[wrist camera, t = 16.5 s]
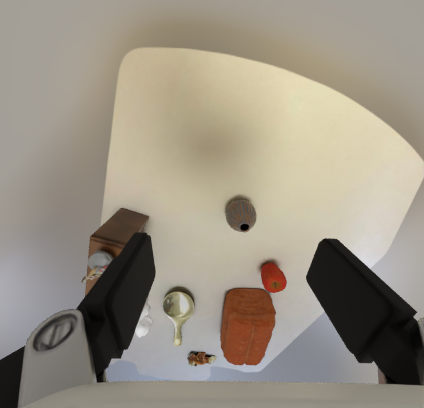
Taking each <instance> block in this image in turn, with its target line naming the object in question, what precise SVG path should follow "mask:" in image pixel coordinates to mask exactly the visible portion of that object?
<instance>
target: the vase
mask: <svg viewBox="0 0 424 408" xmlns="http://www.w3.org/2000/svg"><path fill="white" fill-rule="evenodd" d="M226 220H227V222H228V224H229V225H230V227H231V228H233V229H234V230H236V231H240V232H247V231H249V230H250V229H251V228H252V227H253V226H254V224H255V222H256V211H255V209H254V207H253V205H252V204H251V203H249V202H248V201H246V200H242V199H238V200H235V201H233V202H231V203H230V204H229V206H228V207H227V210H226Z"/></svg>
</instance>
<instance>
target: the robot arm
mask: <svg viewBox="0 0 424 408" xmlns="http://www.w3.org/2000/svg"><path fill="white" fill-rule="evenodd" d="M154 278H155V264H154V257H153V250H152V243H151V237H150V235H147V233H145V232H135V233H134V234H133V235H132V237H131V238H130V240H129V241H128V242H127V244H126V245H125V247H124V248H123V249H122V251H121V252H120V254H119V255H118V256H117V257H115V258H114V259H113V260H112V261H111V262H110V264H109V265H108V266H107V268H106V269H105V271H104V272H103V273H102V275H101V276H100V277H99V279H98V280H97V281H96V283H95V284H94V286H93V287H92V288H91V290H90V291H89V292H88V294H87V295H86V296H85V298H84V299H83V300H82V302H81V303H80V305H79V306H78V307H77V309H68V310H63V311H60V312H58V313H56V314H54V315H52V316H50V317H49V318H47V319H46V320H44V321H43V322H42V323H41V324H39V325H38V327H37V328H36V329H35V330H34V331H33V332H32V333H31V335H30V336H29V338H28V339H27V342H26V345H25V346H24V347H22V348H20V349H18V350H17V351H15V352H13V353H11V354H10V355H8V356H6V357H5V358H3V359H1V360H0V408H424V318H421V319H419V320H418V321H417V320H416V319H414V318H413V316H414V315H415V314H416V313H417V312H416V311H415V310H414V309H413V308H412V307H411V306H410V305H409V304H408V303H407V302H405V301H404V300H403V299H402V298H401V297H400V296H399V295H398V294H397V293H396V292H394V291H393V290H392V289H391V288H390V287H389V286H388V285H387V284H386V283H385V282H384V281H382V280H381V279H380V278H379V277H378V276H377V275H376V274H375V273H374V272H372V271H371V270H370V269H369V268H368V267H367V266H366V265H365V264H364V263H363V262H362V261H361V260H359V259H358V258H357V257H356V256H355V255H354V254H353V253H352V252H351V251H350V250H348V249H347V248H346V247H345V246H344V245H343V244H342V243H341V242H340V241H339V240H337V239H326V238H325V239H323V240H322V241H320V243H319V245H318V247H317V250H316V252H315V255H314V258H313V260H312V263H311V265H310V268H309V270H308V273H307V276H306V280H307V282H308V284H309V286H310V288H311V289H312V291H313V292H314V294H315V296H316V297H317V299H318V301H319V302H320V304H321V306H322V307H323V309H324V311H325V312H326V314H327V316H328V317H329V319H330V320H331V322H332V324H333V325H334V327H335V329H336V330H337V332H338V334H339V335H340V337H341V338H342V340H343V342H344V343H345V345H346V347H347V348H348V350H349V351H350V352H351V353H352V354H354V356H355V357H356V359H357V361H358V362H359V363H372V362H373V361H374V362H375V363H376V365H377V366H378V378H379V379H378V380H379V384H356V383H308V382H246V381H118V382H108V378H107V373H106V368H107V367H108V366H109V363H110V361H111V359H112V358H120V359H121V356H122V354H123V351H124V350H126V349H128V347H129V345H130V343H131V340H132V338H133V335H134V332H135V329H136V327H137V324H138V321H139V319H140V316H141V313H142V311H143V308H144V305H145V303H146V300H147V297H148V295H149V292H150V289H151V286H152V284H153V281H154Z"/></svg>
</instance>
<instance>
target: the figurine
mask: <svg viewBox="0 0 424 408" xmlns="http://www.w3.org/2000/svg"><path fill="white" fill-rule="evenodd" d="M113 259H114V258H113V257H112V256H111V254H109V253H107V252H105V251H101V250H97V251H95V252H94V254H93V255H92V256H90V258H89V259H88V266H89V267H90V268H91V269H92V271H91V272H90V274H89V275H88V277H87V278H86V277H84V278H83V280H82V282H84V281H86V280H88V279H91V280H92V278H89V277H93V278H94V277H95V276H98V275H99V274H102V273H103V272H104V271H105V269H106V268H107V266H108V265H109V264H110V262H111V261H112V260H113ZM98 277H100V276H98ZM95 278H97V277H95Z"/></svg>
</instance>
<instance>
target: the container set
mask: <svg viewBox="0 0 424 408" xmlns="http://www.w3.org/2000/svg"><path fill="white" fill-rule="evenodd" d="M147 301H148V297H147V300H146V303H145V305H144V308H143V311H142V313H141V316H140V319H139V321H138V324H137V327H136V329H135V333H136V335H137V336H138V337H141V336H145V335H146V334H147V333H148V331H149V329H150V326H151V324H152V319H151V318H150V317H148V316H147V315H148V313H149V310H150V306H149V305H148V304H147Z"/></svg>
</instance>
